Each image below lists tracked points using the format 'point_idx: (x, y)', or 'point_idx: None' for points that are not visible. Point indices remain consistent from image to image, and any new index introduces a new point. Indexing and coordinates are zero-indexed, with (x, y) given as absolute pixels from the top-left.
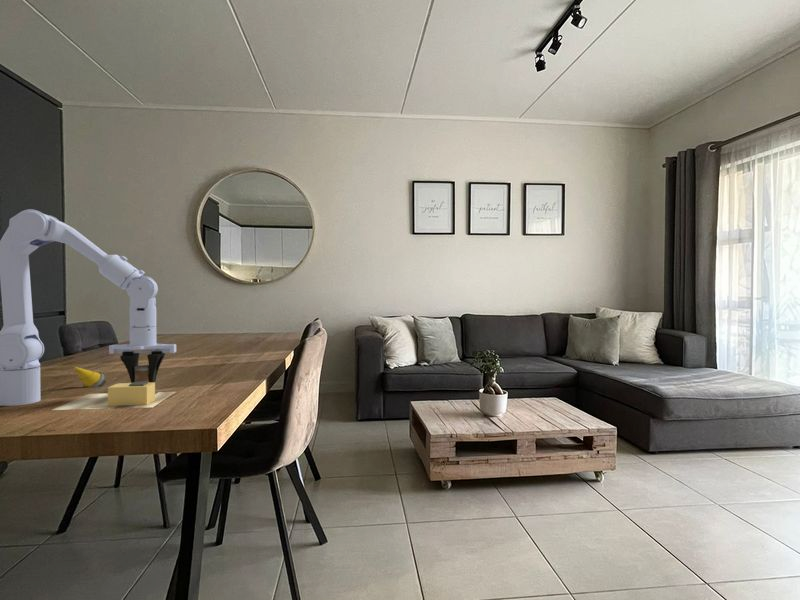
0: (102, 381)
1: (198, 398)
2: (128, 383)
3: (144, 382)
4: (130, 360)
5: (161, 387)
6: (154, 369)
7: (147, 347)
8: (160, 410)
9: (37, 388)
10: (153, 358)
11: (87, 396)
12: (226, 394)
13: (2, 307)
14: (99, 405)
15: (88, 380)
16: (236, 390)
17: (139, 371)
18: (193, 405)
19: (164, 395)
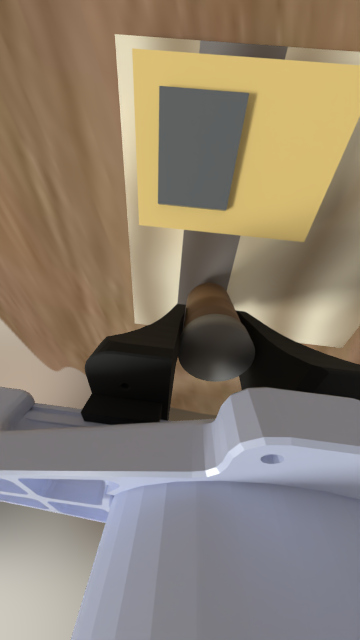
0: None
1: (76, 286)
2: (255, 219)
3: (172, 172)
4: (293, 356)
5: (193, 397)
6: (156, 321)
7: (160, 447)
8: (113, 116)
9: None
10: (134, 340)
11: (351, 317)
12: (34, 314)
13: None
14: None
15: None
16: (36, 345)
17: (222, 315)
18: (42, 190)
19: (148, 284)
